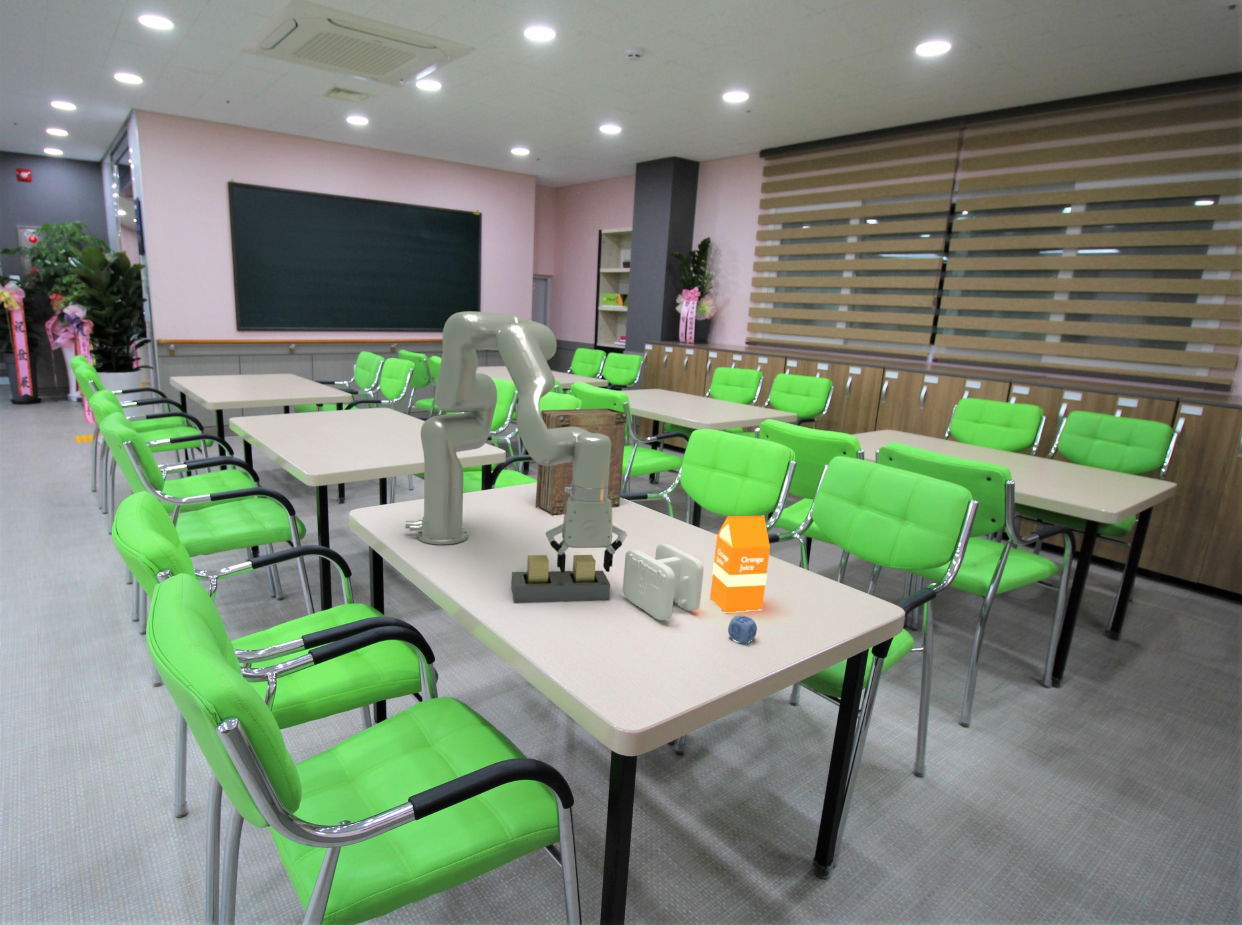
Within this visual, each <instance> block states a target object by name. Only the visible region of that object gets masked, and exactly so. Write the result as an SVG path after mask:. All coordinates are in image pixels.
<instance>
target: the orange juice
mask: <svg viewBox="0 0 1242 925" xmlns="http://www.w3.org/2000/svg"><path fill="white" fill-rule="evenodd" d="M766 524H767V523H766V519H765V515H743V516H742V515H741V516H735V515H734V516H731V515H729V516H727V517H726V519H725V521H724V522H723V524H722V526H721V527H720V530H719V532H718V533H717V535H716V541H715V542H716V543H715V551H714V559H713V567H712V576H711V577H712V578H711V586H710V595H709V596H710V597H709V599H710V598H711V599H710V600H711V601H712V600H713V601H714V602H715V603H716V604H717V605H718V606H719V607H720V608H721V609H722V610H723V611H724V612H736V611H746V610H758V609H762V610H763V606H764V605H763V603H764V598H765V596H764V595H765V590H766V586H767V584H766V583H767V577H768V565H769V560H770V558H769V557H770V553H771V552H770V549H771V546H770V541H769V535H768V531H767V525H766ZM713 601H712V602H713ZM714 602H713V603H714ZM715 603H714V604H715ZM716 604H715V605H716Z"/></svg>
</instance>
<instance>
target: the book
mask: <svg viewBox="0 0 1242 925" xmlns="http://www.w3.org/2000/svg"><path fill="white" fill-rule="evenodd" d="M540 413H541V416H542V418H543V421H544V423H545V425H546V427H547V428H548V429H553V428H562V427H579V428H582V429H584V430H586V431H588V432H591V433H598V434H603V435H606V436H608V437H609V438H610V440H611V454H610V467H609V481H608V495H607V498H608V499H610V500H611V505H612V508H616V507H620V504H621V503H620V502H621V488H622V479H623V478H622V476H623V462H624V452H625V450H624V449H625V442H626V441H625V439H626V438H625V437H626V427H627V426H626V425H627V417H628V415H627V413H626V412H623V411H619V410H616V409H611V408H575V409H573V408H572V409H571V408H570V409H542V410H541V411H540ZM536 477H537V478H536V491H535V492H536V493H535V509H538V508H537V507H541V508H540V509H543V510H545V511H547V512H549V513H550V515H551V516H553V517H554V515H556V516H562V514H563V515H565V509H566V504H567V501H568V498H569V497H571V495H570V494H568V493H565V487H569V486H570V485H571V483H572V477H573V462H568V463H561V464H556V465H550V466H543V465H540V464H538V463H537V476H536Z"/></svg>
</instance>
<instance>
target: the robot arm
mask: <svg viewBox="0 0 1242 925" xmlns="http://www.w3.org/2000/svg"><path fill="white" fill-rule="evenodd" d="M476 350H484V351H486V350H487V351H489V350H490V351H498V352H499V355H500V357H501V359H502V361H503V363H504V366H505V367H506V369H507V372H508V373H509V376H510V378H511V381H512V383H513V385H514V387H515V389H516V390H517V393H518V396H519V397H518V401H517V404H516V414H515V420H516V422H515V423H516V428H517V432H518V435H519V437H520V439H521V441H522V443H523V446H524V447H525V448H524V449H525V450H526V452H527V453H528V455H529V456H530V458H531V459H532V460H533V461H534V463H537V465H538V464H540V465H543V466H550V465H556V464H561V463H568V462H573V477H572V483H571V485H570V486H569V487H565V493H568V494H570V495H571V497H569V498H568V501H567V504H566V509H565V514H563V522H562V524H559V525H558V526H555V527H553V528H552V529H549V530H548V531H546V532H545V536H546V538H547V540H548V542H549V545H550V546H551V548H552V549H554V550H555V551H556V553H557V558H556V559H557V560H556V567H557V568H559V571H561V573H564V572H565V571H566V563H567V562H566V561H567V558H566V557H567V556H566V551H567V550H568V549H569V548H573V549H579V548H580V549H590V548H592V549H593V548H595V549H597V548H598V549H600V548H605V550H604V552H603V553H604V554H603V565H602V566H603V569H604V570H605V572H607V573H610V569H611V568H612V567H613V560H614V554H615V553H616V551H617V550H618V549H619V548H620V547H621V546H623V543H624V542H625V540H626V538H627V537H628V534H627V532H626V531H624V530H623V529H621V528H619V527H617V526H615V525H614V524H613V507H612V505H611V500H610V499H608V498H607V495H608V481H609V467H610V454H611V440H610V438H609V437H608V436H606V435H603V434H598V433H591V432H588V431H586V430H584V429H582V428H579V427H562V428H553V429H548V428H547V427H546V425H545V423H544V421H543V418H542V416H541V411H540V410H541V409H540V401H541V399H542V398H543V397H544V396H546V395H547V394H548V393H550V392H551V391H552V390H553V388H554V387H555V385H556V378H555V376H554V374H553V372H552V370H551V367H550V366H549V364H548V361H549V360H551V358H552V357H554V356H555V353H556V352H557V340H556V336H555V333H554V332H553V331H552V330H551V328H550V327H548V326H547V325H545V324H543V323H540V322H537V321H534V320H530V319H527V318H526V317H525V318H524V317H521V316H519V315H515V314H510V313H501V312H500V313H498V312H489V311H488V312H487V311H470V310H468V311H460V312H456V313H455V312H454V314H453V313H452V315H450V316H449V317H448V319H447V320H446V321H445V323H444V327H443V329H442V354H441V359H440V360H441V361H440V364H439V369H438V374H437V379H436V386H435V392H434V403H435V405H436V407H437V408H438V409H439V410H440V411H442V412H444V413H447V414H440V415H434V416H432V417H429V418H427V419H426V420H425V421H424V422H423V424H422V426H421V427H420V440H421V445H422V446H421V447H422V450H423V451H422V452H423V459H424V460H423V462H424V463H423V464H424V465H423V466H424V467H423V468H424V471H423V472H424V473H423V474H424V476H423V477H424V493H423V495H424V496H423V517H422V519H418V520H417V521H414V520H406V521H405V525H404V526H405V527H404V528H405V529H409V531H417V535H416V536H417V539H418V540H420V542H423V543H427V544H430V545H442V546H443V545H453V544H454V545H455V544H459V543H462V542H463V541H466V540H467V539H468V538H469V531H468V530H467V529H465V528H463V512H464V511H463V510H464V506H463V504H464V466H463V465H462V462H461V461H460V459H459V457H458V455H457V453H459V452H465V451H466V452H467V451H472V450H473V451H474V450H478V449H480V448H482V447H483V446H484V445H485V444H486V443H487V440H488V438H489V436H490V433H491V427H492V424H493V420H494V415H495V410H496V406H497V402H498V390H497V386H496V383H495V381H494V380H493V378H492V377H491V376H490V375H488V374H486V373H481V372H477V370H478V364H479V360H478V359H479V358H478V355H477V351H476ZM559 534H562V536H561V537H562V540H561V541H560V542H559V543H558V541H556V539H555V537H556V536H558V535H559ZM613 534H615V535H616V536H617V538H616V539H614V541H613ZM612 541H613V542H612Z"/></svg>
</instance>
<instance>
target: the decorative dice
mask: <svg viewBox="0 0 1242 925" xmlns="http://www.w3.org/2000/svg"><path fill="white" fill-rule="evenodd" d="M727 629H728V630H727V632H728V635H729V637H730V639H734V640H736V641H738V642H740V643H739V644H742V643H747V644H749V643H748V642H749V641H751V640H752V641H754V639H755V637H756V636H757V630H758V625H757V624H756V622H755V620H754V619H753V618H751V617H749V616H748V615H747V616H746V615H735V616H734V617H733V618H731V620H730V621H729V625H728V628H727Z"/></svg>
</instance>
